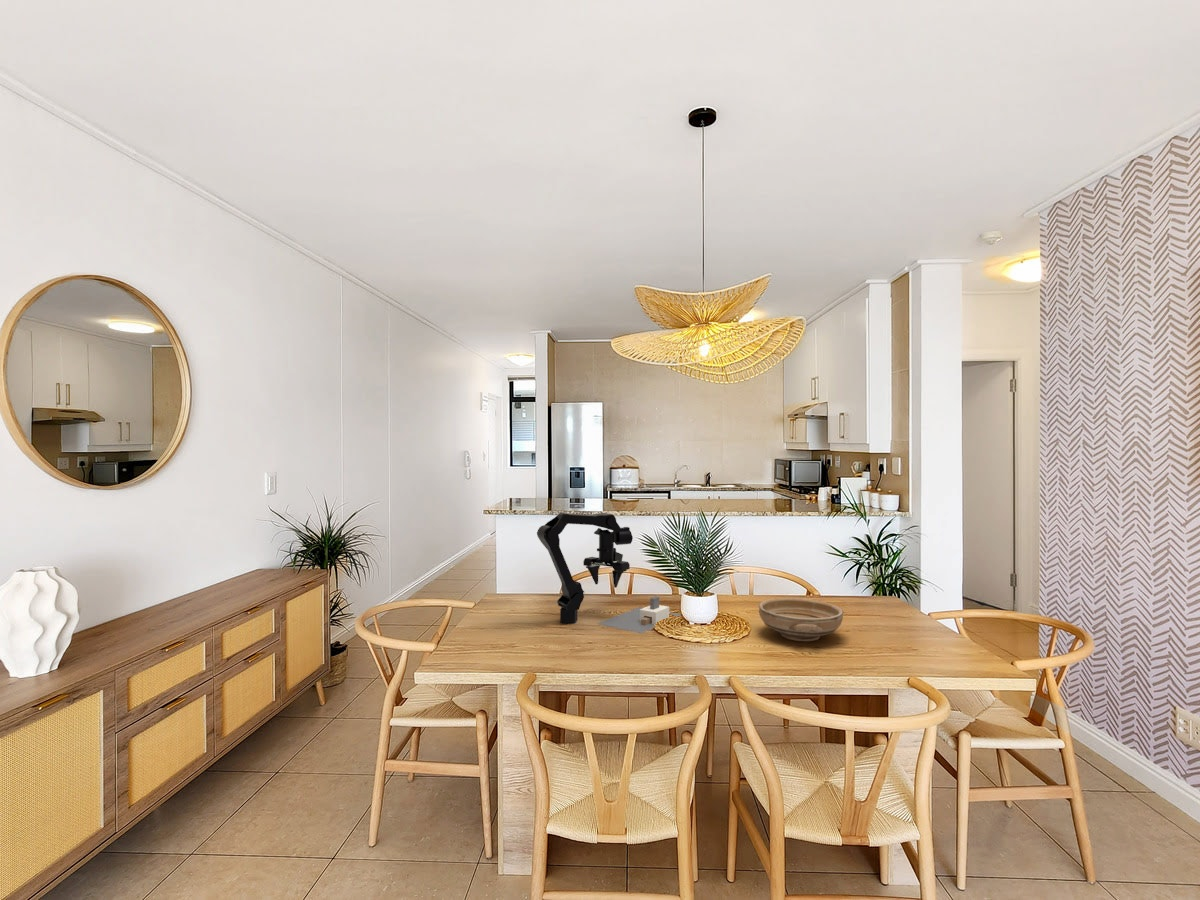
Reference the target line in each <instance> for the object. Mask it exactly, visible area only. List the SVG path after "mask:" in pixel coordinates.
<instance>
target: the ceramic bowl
mask: <svg viewBox="0 0 1200 900" xmlns="http://www.w3.org/2000/svg"><path fill="white" fill-rule="evenodd" d="M758 614H759V616H760V619H761V621H762V622H763V623H764V624H765V626H767V627H768V628H770V629H771V630H773V631H776V632H778V633H780V636H781V637H783V638H785V639H787V640H791V641H795V642H815V641H817V640H819V639H820V637H823V636H827V635H829V634H832V633H834V632H835V631H837V630H838V629H839V628H840V626H841V625H842V622H843V619H844V610H843V609H842V608H841V607H840V606H837V605H835V604H833V603H829V602H825V601H821V600H816V599H809V598H800V597H780V598H771V599H766V600H763V601H761V602H759V603H758Z"/></svg>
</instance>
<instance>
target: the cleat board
mask: <svg viewBox="0 0 1200 900" xmlns="http://www.w3.org/2000/svg"><path fill="white" fill-rule="evenodd" d="M643 608H644V607H641V606H638V607H636V608H633V609H631V610H629V611H626V612H623V613H621V614H618V615H616V616H613V617H611V618H608V619H605V620H603V621H600V622H597V623H596V625H599V626H605V627H609V628H614V629H619V630H624V631H629V632H634V633H638V634H644V633H645V632H648V631H650V630H652V629H655V628H656V627H655V625H654V624H652V617H649V616H647V617H645V618H643V619H641V622H640V609H643ZM669 614H672V615H674V616H679V617H682V616H681V613H676V612H672V611H671V612H670V611H669Z"/></svg>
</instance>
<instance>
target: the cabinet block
mask: <svg viewBox="0 0 1200 900" xmlns="http://www.w3.org/2000/svg"><path fill="white" fill-rule="evenodd" d="M649 603H650V604H649V605H648V606H646V607H643V609H640V622H641V619H643V618H645V617H647V616H649V617H652V624H656V623H657V622H659V621H660V620H663V619H666V618H669V612H670V606H667V605H661V604H660V596H657V595H656V596H653V597H650V599H649Z"/></svg>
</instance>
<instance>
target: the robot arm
mask: <svg viewBox="0 0 1200 900" xmlns="http://www.w3.org/2000/svg"><path fill="white" fill-rule="evenodd" d="M568 524H569V525H584V526H585V525H586V526H588V525H589V526H595V527H598V528H597V529H596V530H595V531H594V532H593V533H594V535H597V536H598V548H596V551H597V552H598V557H597V556H596V557H595V556H589V557H584V560H583V562H582V563H583V566H584V567H585V568H586V569H587V570H588V572H589V574H590V576H591V578H592V580H593V582H594V584H595V585H598V584H599V570H600V567H601V566H604V567H609V568H612V569H613V570H612V581H613V587H614V588H617V587H618V586H619V583H620V582H619V581H620V579H621V576H622V574H623V573H624V572H627V570H630V568H631V566H630V562H628V561H625V560H623V557H624V554H622V553H621V552H617V549H616V547H614V545H616V546H621V545H631V544H632V543H633V534H632V532H631V530H630V527H629V526H624V527H621V526H620V525H619V523H618V522H617V517H616V516H615V515H614V514H611V513H606V512H599V513H594V514H580V513H579V514H578V513H566V512H560V513H558V514H557V515H556V516H555V517H553V518H552V519H550V520H549V521H547V522H546V523H545V524H544V525H541V526H539V528H538V529H537V532H536V535H537V538H538V539H539V541H540V543H541V544H542V545H543V547H544V548H545V549H546V550H547V551H548V555H549V556H550V559H551V561H552V564H553V565H554V568H555V570H556V573H557V575H558V578H559V580H560V583H561V592H562V594H561V596H560V597H559V598H558V600H557V601H556V602H557V606H558V607H560V609H559V613H560V615H559V622H560V624H562V625H573V624H576V623H577V621H578V610H580V608H581V605H582V602H583V600H584V599H585V595H584V593H585V591H584V590H583V587H582V584H581V582H579V581H577V580H575V579H574V578H573V575H572V573H571V571H570V568H569V566H568V564H567V562H566V559H565V557H564V554H563V552H562V549H561V547H560V544H561V543H560V541H561V540H560V536H559V535H560V534H561V533H563V531H564V529H565V528H566V526H567V525H568ZM602 528H603V529H602ZM610 530H611V531H610Z"/></svg>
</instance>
